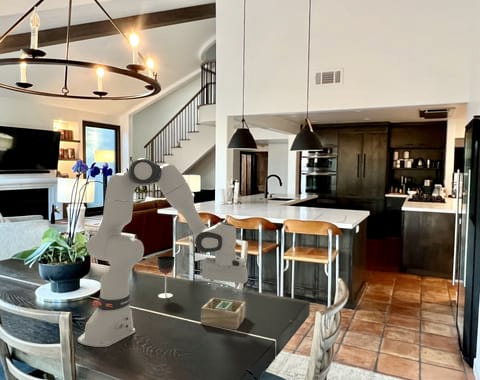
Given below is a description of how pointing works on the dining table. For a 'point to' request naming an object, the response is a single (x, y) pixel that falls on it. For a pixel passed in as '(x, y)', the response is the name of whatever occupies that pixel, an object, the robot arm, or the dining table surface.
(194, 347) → the dining table surface
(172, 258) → the wineglass
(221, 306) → the green crate
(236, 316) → the birch crate
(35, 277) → the dining table surface
